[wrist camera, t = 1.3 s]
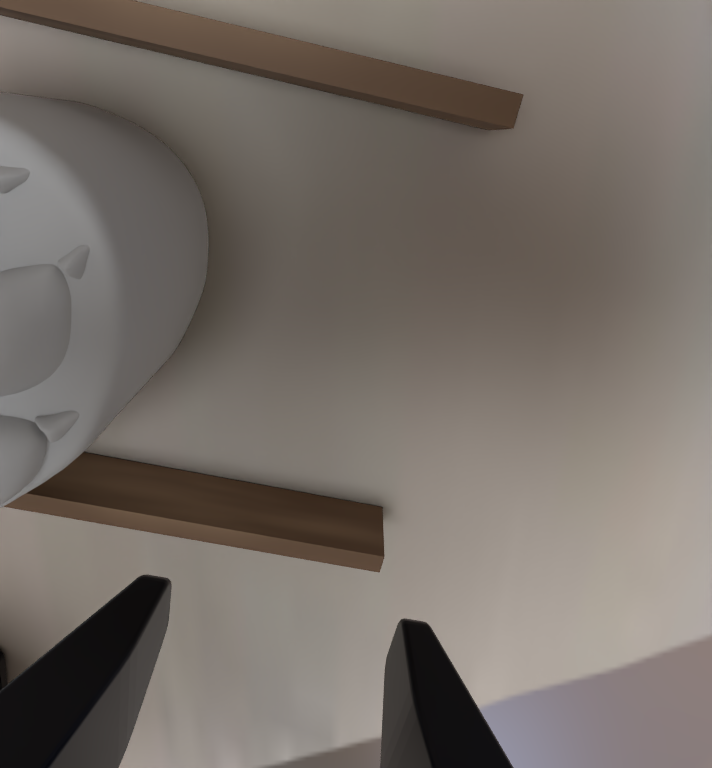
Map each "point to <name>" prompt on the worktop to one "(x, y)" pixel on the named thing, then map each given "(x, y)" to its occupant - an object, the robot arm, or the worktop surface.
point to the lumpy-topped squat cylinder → (86, 276)
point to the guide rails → (204, 492)
